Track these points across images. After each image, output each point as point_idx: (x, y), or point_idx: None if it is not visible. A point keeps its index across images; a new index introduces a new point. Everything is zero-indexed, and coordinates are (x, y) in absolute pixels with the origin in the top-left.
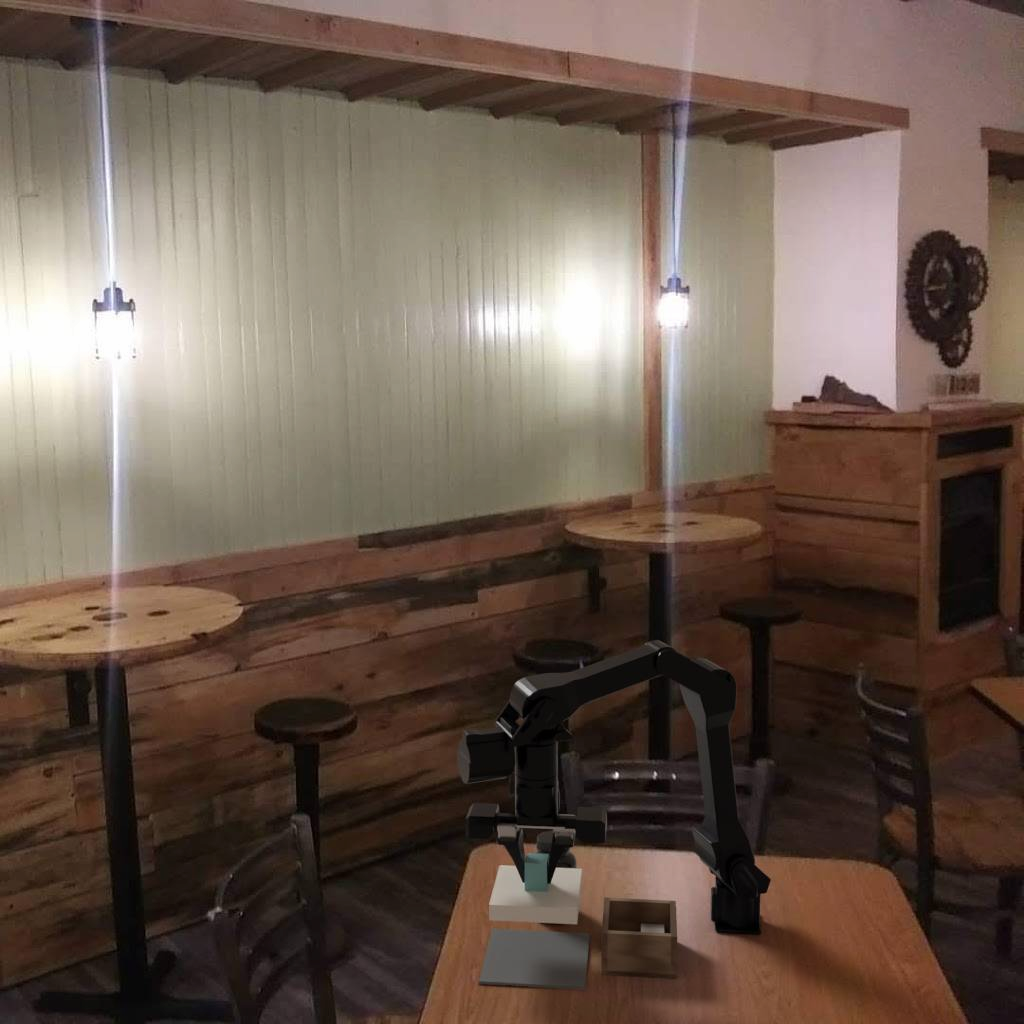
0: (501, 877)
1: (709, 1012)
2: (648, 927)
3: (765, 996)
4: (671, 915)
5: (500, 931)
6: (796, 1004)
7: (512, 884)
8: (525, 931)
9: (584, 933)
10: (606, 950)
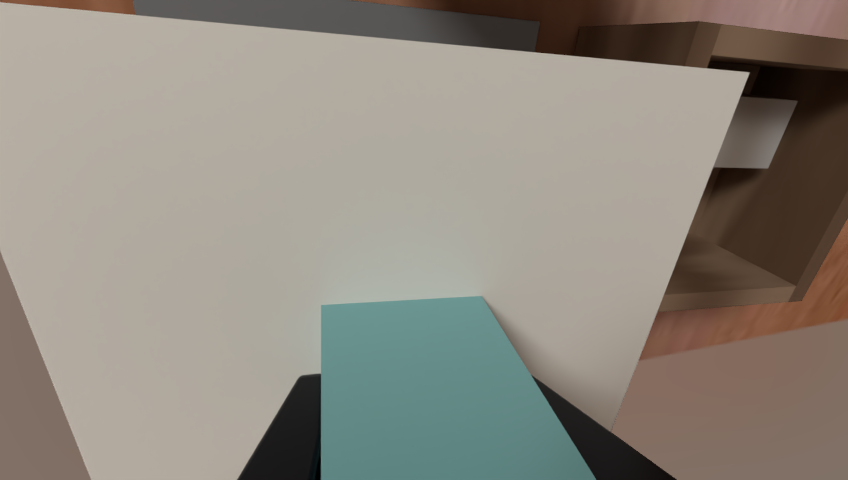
0: (72, 283)
1: (701, 341)
2: (745, 125)
3: (815, 278)
4: None
5: (179, 6)
6: (845, 294)
7: (216, 372)
8: (293, 4)
9: (522, 22)
10: None
